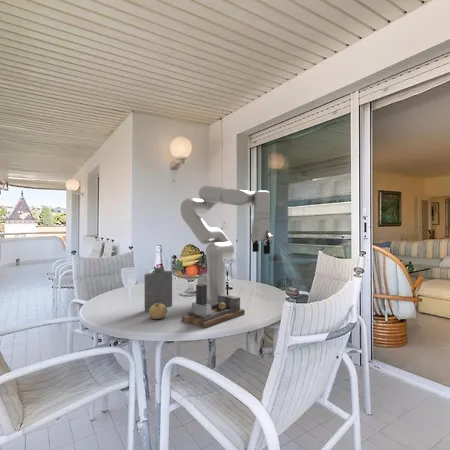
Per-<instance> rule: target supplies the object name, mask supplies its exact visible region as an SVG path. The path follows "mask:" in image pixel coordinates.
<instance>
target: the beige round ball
mask: <svg viewBox="0 0 450 450" xmlns="http://www.w3.org/2000/svg"><path fill="white" fill-rule="evenodd" d="M219 309H220V310H225V309H226V304H225V303H224V302H221V303H220V304H219Z"/></svg>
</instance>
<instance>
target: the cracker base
mask: <svg viewBox="0 0 450 450" xmlns="http://www.w3.org/2000/svg"><path fill="white" fill-rule="evenodd" d="M221 302H224V303H225V304H226V309H225V310H220V309H219V304H220V303H221ZM245 310H246V309H244V308H241V297H239V296H233V295H231V294H226V295H225V294H220V295H218V304H216V305H211V315H209V316H206V317H203V316H200V315H196V314H192V310H191V311H188V312H187V314H185V315H181V322H184V323H187V324H191V325H194V326H197V327H200V328H203V329H206V328H209V327H212V326H216V325H217V324H220V323H223V322H226V321H229V320H232V319H234V318H237V317H240V316H242V315H245V312H246V311H245Z"/></svg>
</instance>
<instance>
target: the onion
mask: <svg viewBox="0 0 450 450" xmlns="http://www.w3.org/2000/svg"><path fill="white" fill-rule="evenodd" d="M148 314H149V316H150V318H151V319H153V320H159V319H161V320H162V319H164V318H165V317H166V315H167V314H168V307H166V306H165V305H163V304H161V303H154V305H152V306H151V308H150V309H149V312H148Z"/></svg>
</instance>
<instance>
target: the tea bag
mask: <svg viewBox="0 0 450 450" xmlns="http://www.w3.org/2000/svg"><path fill="white" fill-rule="evenodd" d="M199 284H205V285H207V275H206V276H204V277H202V278H199V277H198V279H197V283H196V285H199Z"/></svg>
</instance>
